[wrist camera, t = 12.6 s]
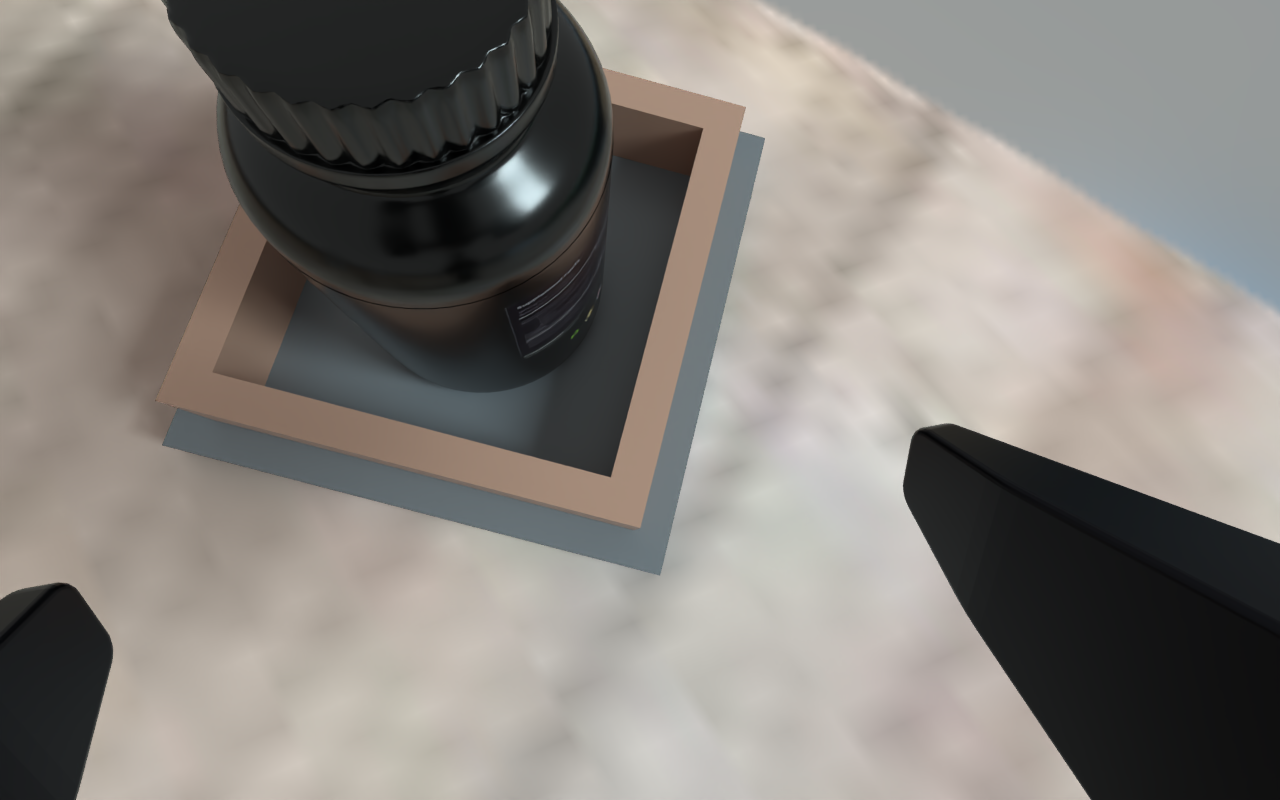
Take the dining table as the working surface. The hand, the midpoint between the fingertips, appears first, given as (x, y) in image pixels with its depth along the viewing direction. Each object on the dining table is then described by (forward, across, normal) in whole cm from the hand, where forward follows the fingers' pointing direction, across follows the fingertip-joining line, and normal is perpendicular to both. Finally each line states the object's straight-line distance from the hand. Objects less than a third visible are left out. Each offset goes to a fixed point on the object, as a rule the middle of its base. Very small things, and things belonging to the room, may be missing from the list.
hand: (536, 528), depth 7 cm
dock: (+14, +1, +3) cm, 15 cm away
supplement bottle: (+14, +1, +2) cm, 14 cm away
